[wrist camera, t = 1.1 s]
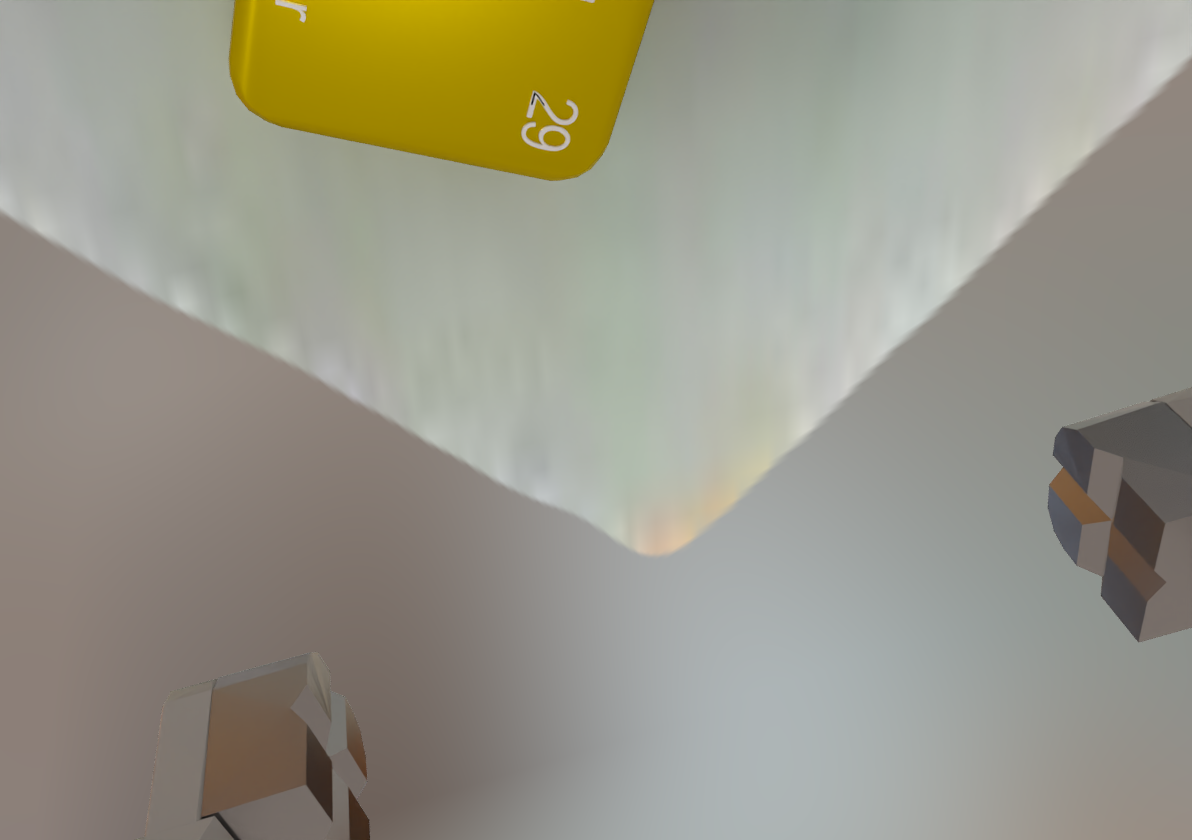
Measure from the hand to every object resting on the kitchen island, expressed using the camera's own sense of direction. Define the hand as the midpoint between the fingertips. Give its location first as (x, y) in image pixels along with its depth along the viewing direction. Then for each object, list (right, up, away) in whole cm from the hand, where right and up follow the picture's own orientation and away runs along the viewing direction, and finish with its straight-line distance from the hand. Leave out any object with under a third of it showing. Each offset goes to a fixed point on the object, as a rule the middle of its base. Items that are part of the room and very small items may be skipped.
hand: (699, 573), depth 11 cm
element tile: (-7, +21, +30) cm, 37 cm away
